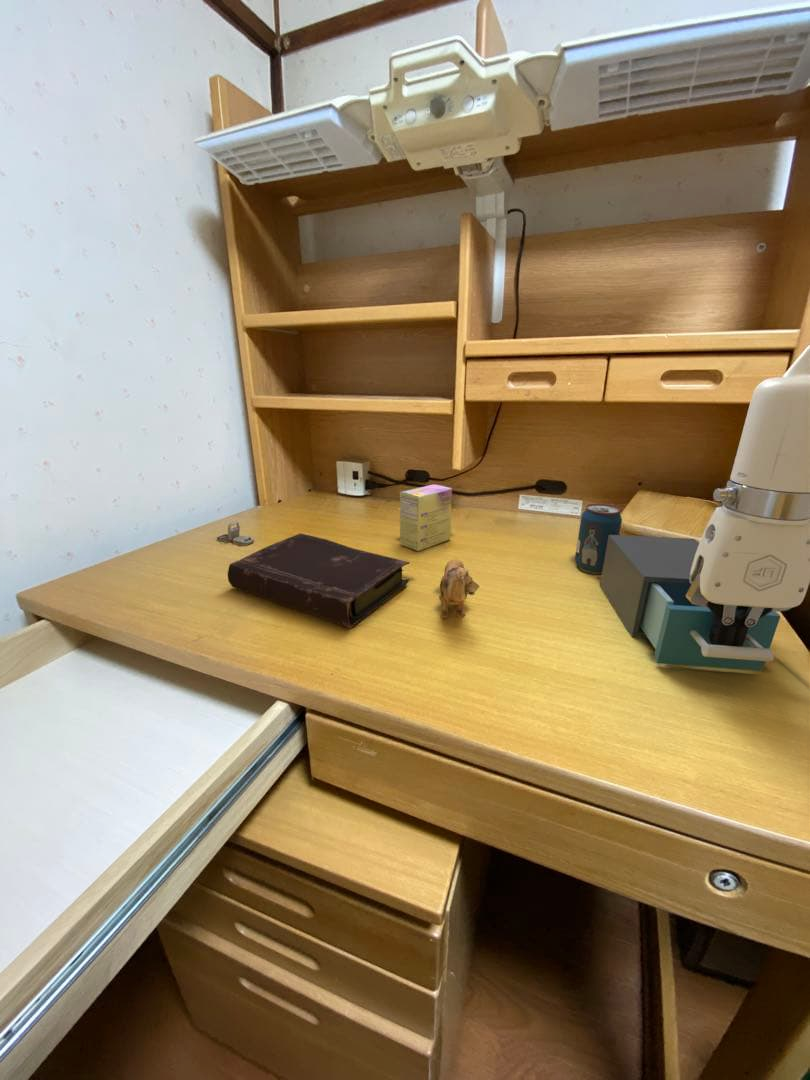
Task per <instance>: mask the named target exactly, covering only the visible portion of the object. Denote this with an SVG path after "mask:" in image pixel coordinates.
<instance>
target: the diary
mask: <svg viewBox="0 0 810 1080" xmlns="http://www.w3.org/2000/svg"><path fill="white" fill-rule="evenodd" d="M409 564H410V561H408V560H407V561H406V560H404V559H403V560H402V559H399V558H395V557H390V556H386V555H381V554H378V553H374V552H370V551H365V550H362V549H358V548H353V547H350V546H347V545H344V544H341V543H338V542H337V541H333V540H330V539H327V538H323V537H318V536H313V535H310V534H305V533H297V534H295V535H293V536H290V537H287V538H285V539H282V540H280V541H277V542H275V543H272V544H270V545H267V546H264V547H263V548H261V549H259V550H256V551H255V552H253V553H251V554H249V555H246V556H244V557H242V558H241V559H238V560H235V561H234V562H233V561H232V562H231V563H229V565H228V569H227V573H226V574H227V581H228V583H229V584H230V586H231V587H232V588H233V589H237V590H241V591H243V592H247V593H250V594H253V595H257V596H259V597H263V598H265V599H268V600H271V601H273V602H274V603H278V604H281V605H283V606H285V607H289V608H292V609H295V610H298V611H302V612H305V613H308V614H310V615H311V614H312V615H314V616H317V617H320V618H322V619H325V620H328V621H330V622H332V623H335V624H337V625H340V626H343V627H346V628H349V629H352V627H353V626H355V625H356V624H358V622H360V621H362V620H363V619H364V618H366V617H367V616H368V615H369V614H371V613H372V612H374V611H375V610H376V609H378V608H379V607H380V606H382V605H383V604H384V603H385V602H388V601H389V600H390V599H391V598H392V597H393V596H395V595H396V594H397V593H398V592H399V591H401V590H402V589H403V588H404V587H405V586H406V585H407V584H408V582H410V579H409V578H407V579H406V578H405V579H404V578H403V571H404V570H403V567H404V566H406V565H409Z"/></svg>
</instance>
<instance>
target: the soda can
mask: <svg viewBox="0 0 810 1080" xmlns="http://www.w3.org/2000/svg"><path fill="white" fill-rule="evenodd" d="M622 521H623V517H622V516H621V509H620V508H618V507H617V506H614V505H610V504H605V503H590V504H587V505H586V507H585V510H584V511H583V512H582V513H581V515H580V521H579V522H580V523H579V530H578V536H577V543H576V549H575V555H574V561H575V564H576V566H577V568H578V569H579V570H581V571H582V572H585V573H588V574H592V575H602V570H603V565H604V559H605V553H606V548H607V542H608V537H609V535H620V534H621V527H622Z"/></svg>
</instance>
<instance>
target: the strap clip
mask: <svg viewBox="0 0 810 1080" xmlns="http://www.w3.org/2000/svg"><path fill="white" fill-rule="evenodd" d="M235 525H236V526H235ZM232 526H235V527H233V528H232ZM240 528H241V527H240V523H239V521H232V522H230V523H229V524H228V526H227V534H222V535H219V536H217V537H216V540H218V541H220V542H224V543H231V542H232V543H233V544H234V545H238V546H247V545H250V544H253V543H254V541H255V539H254V538H253V537H251V536H246V535H240V533H241V532H240V531H241V529H240Z"/></svg>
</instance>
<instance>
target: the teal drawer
mask: <svg viewBox="0 0 810 1080" xmlns="http://www.w3.org/2000/svg"><path fill="white" fill-rule="evenodd" d="M691 585H692V584H680V583H663V582H649V586H648V590H647V595H646V599H645V604H644V608H643V613H642V617H641V622H640V627H641V628H642V630H643V631H644V633H645V634H646V636H647V637H648V638H647V639H648V641H649V642H650V644H651V645H652V646H653V648H654V656H653V659H654V660H655V662H656V663H657V664H666V665H667V664H668V665H679V666H680V665H681V666H693V667H704V668H705V667H707V668H718V669H719V668H721V669H732V670H744V671H745V670H747V671H757V672H758V671H760V672H762V671H763V670H764V666H765V663H766V662H773V660H774V659H775V654H774V651H773V650H772V649H771V645H772V643H773V640H774V637H775V634H776V631H777V628H778V626H779V623H780V619H781V617H782V616H781V615H780V614H778V612H770V613H768V614H767V615H765V616H763V617H761V618H760V619H758V621H757V623H756V625H755V626H753V627H749V628H748V631H747V634H746V637H745V640H744V643H743V646H741V647H737V646H723V645H712V644H711V642H710V640H709V634H710V631H711V627H712V624H713V620H714V617H715V615H714V614H713V613H712V612H711V610H710V609H709V608H706V607H701V606H698V605H694V604H692V603H691V602H690V601H689V600H688V599H687V598H686V594H687V592H688V590H689V589H690V587H691Z"/></svg>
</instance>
